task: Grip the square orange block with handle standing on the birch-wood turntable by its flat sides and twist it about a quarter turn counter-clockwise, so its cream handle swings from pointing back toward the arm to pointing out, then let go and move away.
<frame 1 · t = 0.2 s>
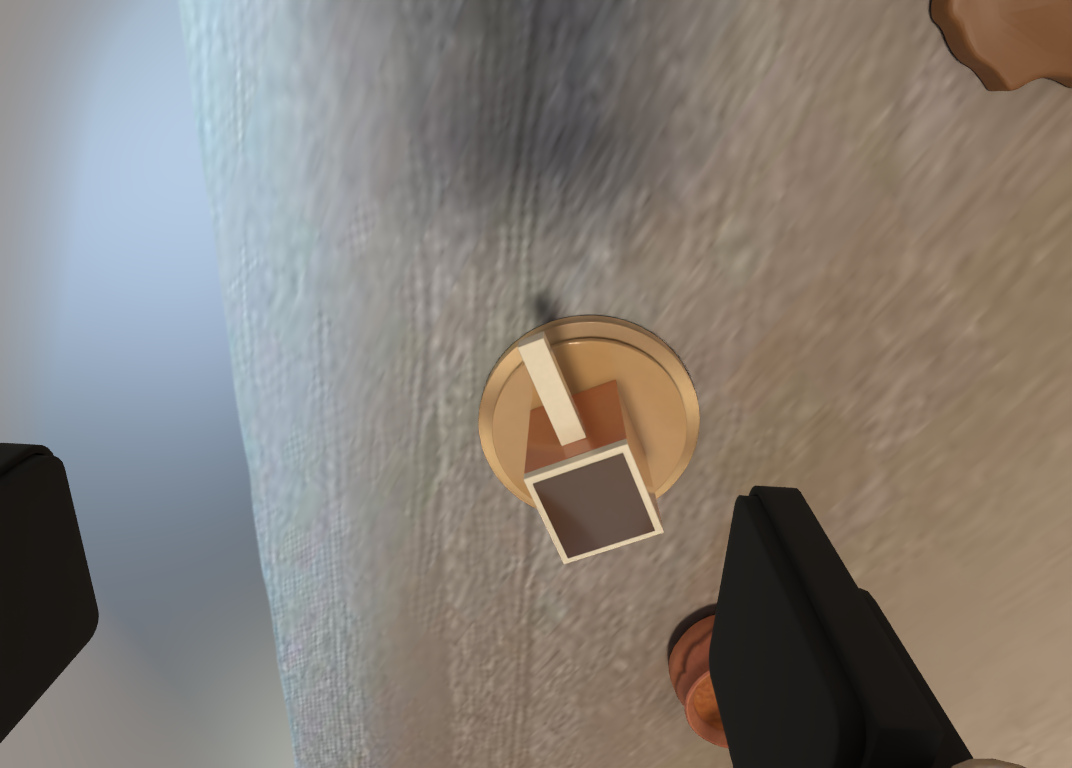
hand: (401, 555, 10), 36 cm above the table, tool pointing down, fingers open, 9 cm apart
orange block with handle: (582, 444, 43), point 7 cm above the table, hinge at 0.0°
potted flower: (717, 653, 57), on the table
turntable base: (587, 418, 49), on the table
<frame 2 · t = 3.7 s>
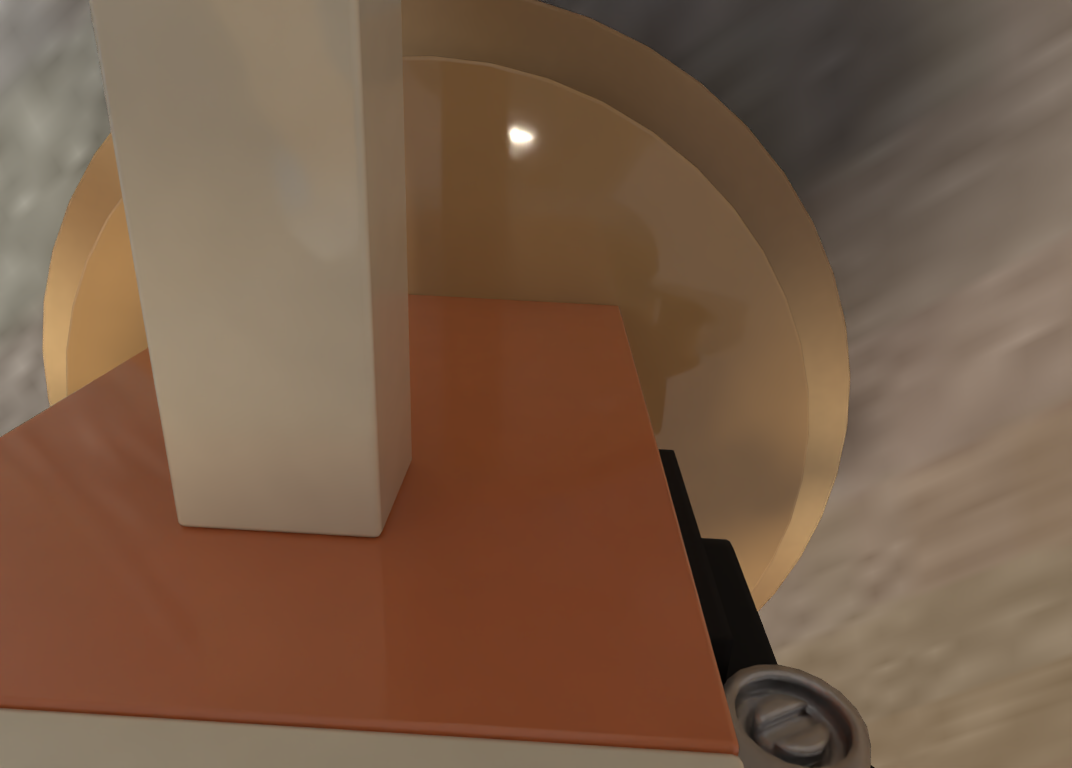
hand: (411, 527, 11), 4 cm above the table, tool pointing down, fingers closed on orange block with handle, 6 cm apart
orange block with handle: (370, 527, 8), point 7 cm above the table, hinge at 0.0°, touching gripper
turntable base: (453, 406, 15), on the table
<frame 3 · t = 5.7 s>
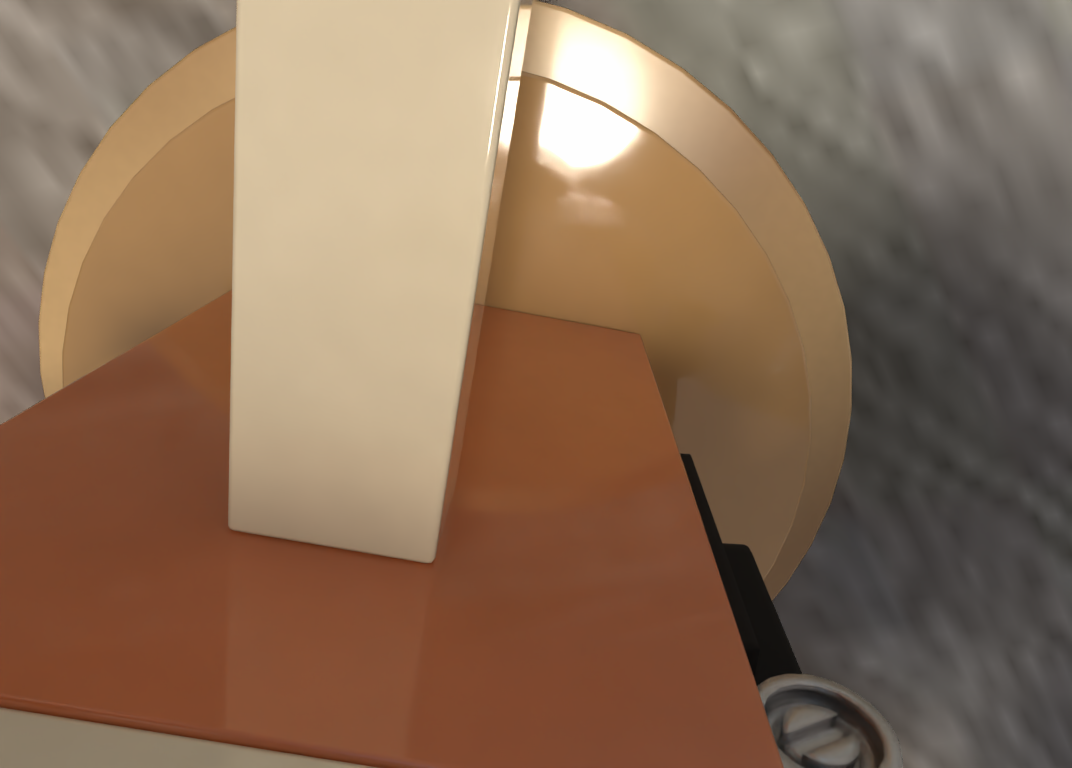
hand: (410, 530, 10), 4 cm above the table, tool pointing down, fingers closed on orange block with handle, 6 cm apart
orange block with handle: (386, 534, 8), point 7 cm above the table, hinge at 86.8°, touching gripper
turntable base: (453, 409, 15), on the table
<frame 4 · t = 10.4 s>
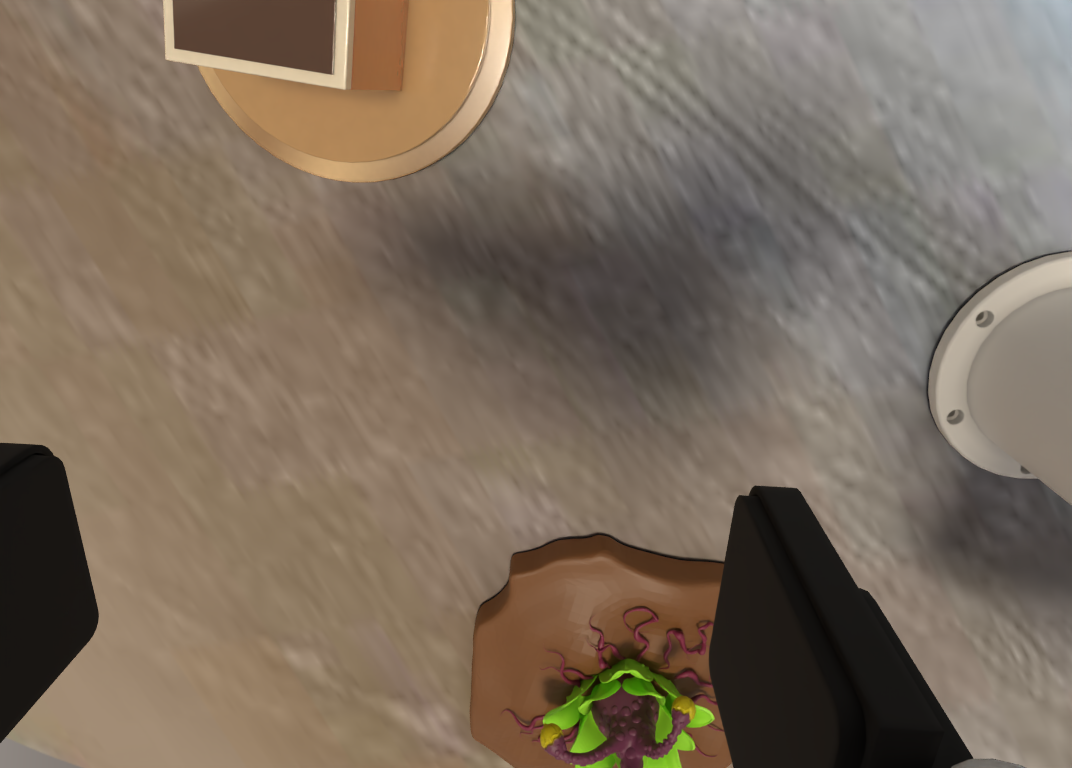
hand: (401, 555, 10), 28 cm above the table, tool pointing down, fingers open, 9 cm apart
plant: (617, 663, 47), on the table
turntable base: (353, 12, 33), on the table
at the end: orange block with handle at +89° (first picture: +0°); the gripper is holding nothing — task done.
